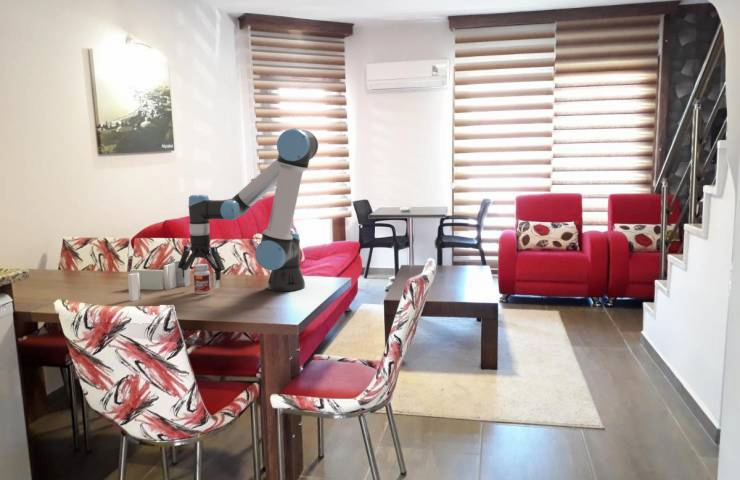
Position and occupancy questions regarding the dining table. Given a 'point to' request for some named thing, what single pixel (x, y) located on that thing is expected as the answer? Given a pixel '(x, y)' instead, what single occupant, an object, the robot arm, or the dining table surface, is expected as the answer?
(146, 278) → the grey green panel
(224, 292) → the dining table surface
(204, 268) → the pill bottle
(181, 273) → the mug
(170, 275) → the frame
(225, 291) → the dining table surface
